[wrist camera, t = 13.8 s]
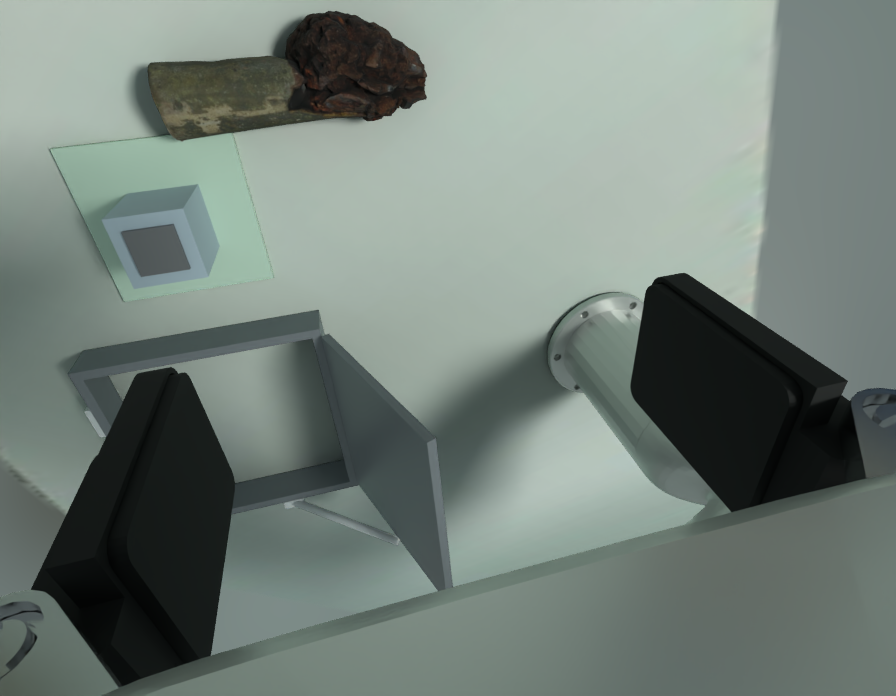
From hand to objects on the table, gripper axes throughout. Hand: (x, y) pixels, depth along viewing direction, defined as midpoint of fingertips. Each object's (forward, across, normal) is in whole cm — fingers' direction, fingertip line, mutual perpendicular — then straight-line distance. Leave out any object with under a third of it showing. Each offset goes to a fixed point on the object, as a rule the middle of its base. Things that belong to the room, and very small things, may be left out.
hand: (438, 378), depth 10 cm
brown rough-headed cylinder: (+35, +2, -3) cm, 35 cm away
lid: (+23, +2, +26) cm, 35 cm away
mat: (+34, +14, +6) cm, 38 cm away
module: (+34, +14, +6) cm, 37 cm away
